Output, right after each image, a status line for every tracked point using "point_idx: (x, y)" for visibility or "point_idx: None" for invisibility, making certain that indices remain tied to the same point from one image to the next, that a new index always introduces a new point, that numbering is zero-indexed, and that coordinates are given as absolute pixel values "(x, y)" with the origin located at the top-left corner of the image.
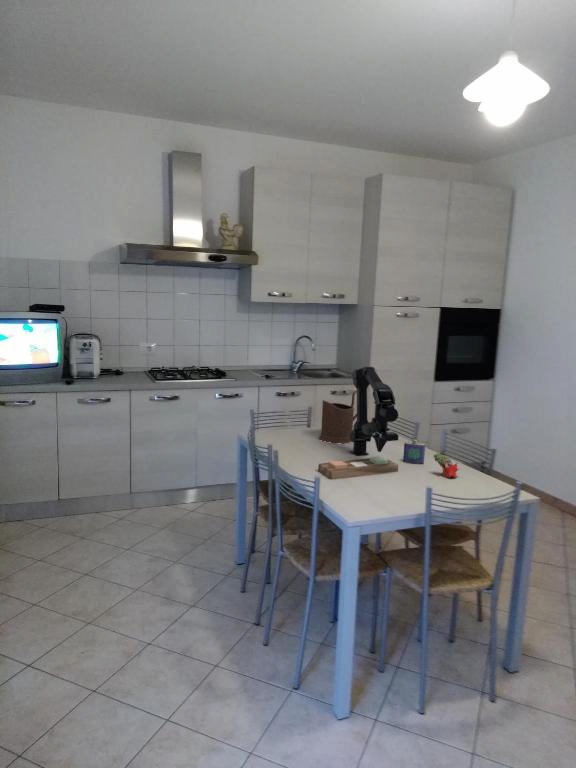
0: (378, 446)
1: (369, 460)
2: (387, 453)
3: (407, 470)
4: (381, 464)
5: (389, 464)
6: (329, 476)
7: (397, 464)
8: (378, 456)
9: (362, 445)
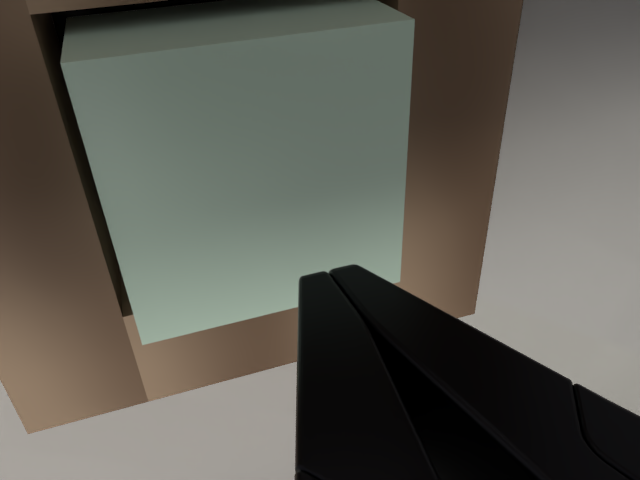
0: (338, 397)
1: (395, 9)
2: (631, 384)
3: (77, 454)
4: (53, 151)
5: (45, 305)
6: None
7: (39, 422)
8: (394, 235)
9: None
